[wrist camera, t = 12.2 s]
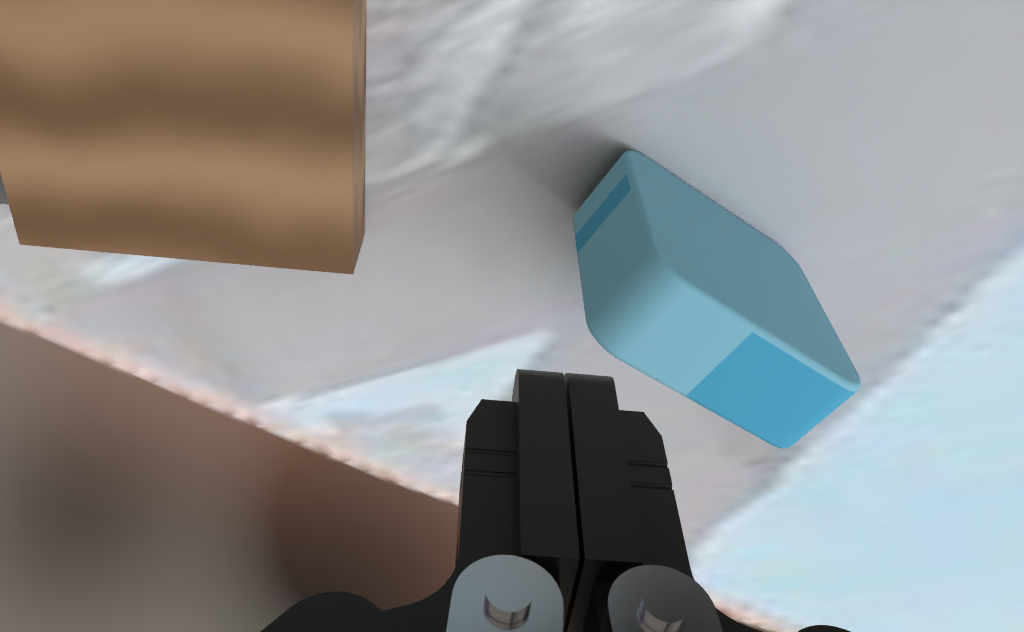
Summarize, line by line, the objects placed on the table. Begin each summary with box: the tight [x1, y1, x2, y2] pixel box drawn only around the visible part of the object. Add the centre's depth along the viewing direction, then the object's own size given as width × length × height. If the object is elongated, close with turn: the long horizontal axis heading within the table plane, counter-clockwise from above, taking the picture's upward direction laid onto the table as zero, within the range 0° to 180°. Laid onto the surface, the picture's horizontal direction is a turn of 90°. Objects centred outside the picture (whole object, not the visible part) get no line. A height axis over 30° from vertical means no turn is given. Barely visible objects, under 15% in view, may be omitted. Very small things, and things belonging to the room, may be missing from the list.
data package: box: [573, 151, 861, 448], centre depth 40 cm, size 12×4×12 cm, turn 56°
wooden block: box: [0, 0, 366, 274], centre depth 38 cm, size 16×16×4 cm
